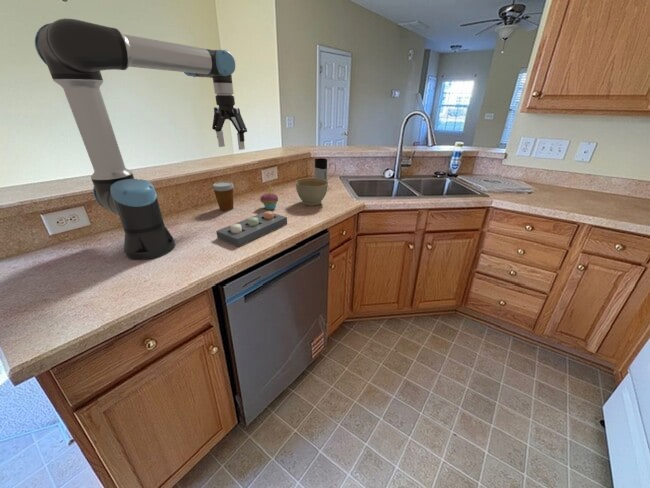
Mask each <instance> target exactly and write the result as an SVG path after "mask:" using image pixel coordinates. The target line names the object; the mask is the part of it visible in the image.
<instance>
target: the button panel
mask: <svg viewBox="0 0 650 488" xmlns="http://www.w3.org/2000/svg"><path fill="white" fill-rule="evenodd" d="M264 212H265V211H264ZM264 212H261V213H259V214H256V215H253V216H252V217H257V218H258V221H259V225H257V226H255V227H251V226H249V225H248V218H246V219H243V220H241V221H238V222H235V223H234V224H241V227H242V232H241V233H239V234H236V235H235V234H232V233H231V229H230V226H231V225H232V224H231V225H228V226H225V227H223V228H220V229H218V230H216V231H215V232H216V237H217V239H218V240H220V241H224V242H226V243H228V244H231V245H233V246H235V247H241V246H243V245H245V244H247V243H250V242H252V241H253V240H256V239H258V238H260V237H263V236H265V235H267V234H269V233H272V231H275V230H277V229H280V228H282V227H283V226H285V225H287V224H288V217H287V216H284V215H280V214H277V213H274V219H271V220H266V219H264Z"/></svg>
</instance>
